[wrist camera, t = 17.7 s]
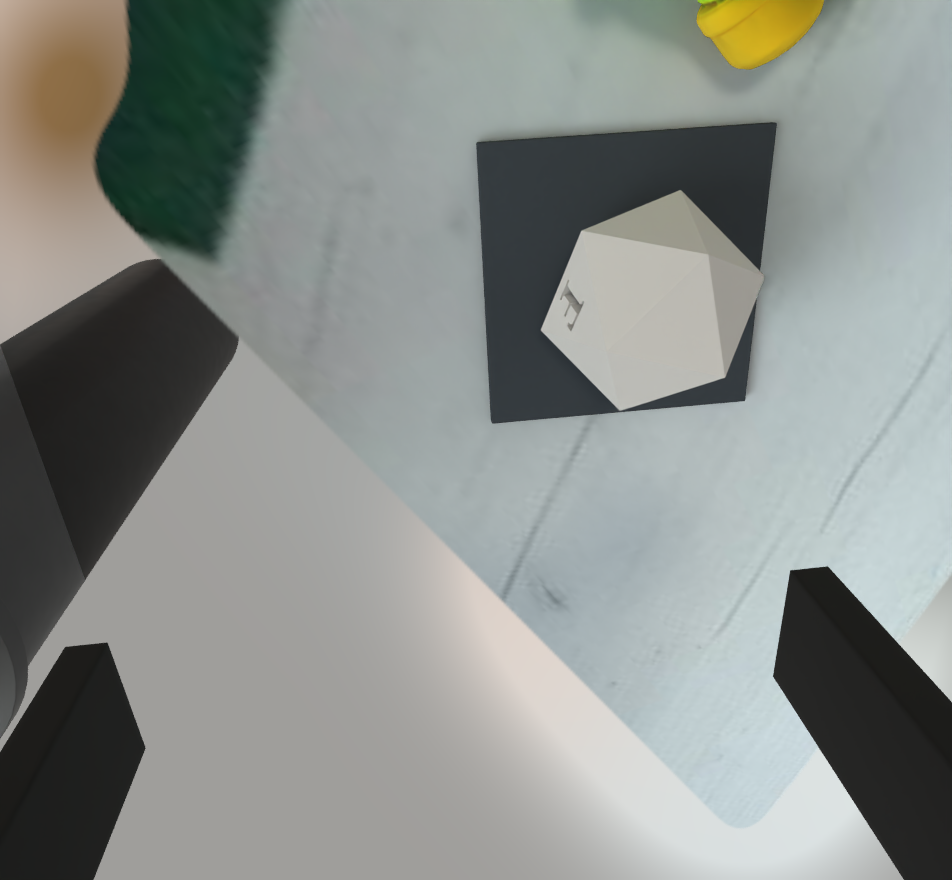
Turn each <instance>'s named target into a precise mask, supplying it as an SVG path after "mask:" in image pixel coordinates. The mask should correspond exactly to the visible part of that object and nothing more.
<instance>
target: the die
mask: <svg viewBox="0 0 952 880" xmlns="http://www.w3.org/2000/svg"><path fill="white" fill-rule="evenodd" d="M764 278H765V276H764V275H763V274H762V273H761V272H760V271H759V270H758V269H757V268H756V267H755V266H754V265H753V264H752V262H751V261H750V260H749V259H748V258H747V257H746V256H745V255H744V254H743V253H742V252H741V251H740V250H739V249H738V248H737V247H736V246H735V245H734V244H733V243H732V242H731V241H730V240H729V239H728V238H727V237H726V236H725V235H724V234H723V233H722V232H721V231H720V230H719V229H718V228H717V227H716V226H715V225H714V224H713V222H712V221H711V220H710V219H709V218H708V217H707V216H706V215H705V214H704V213H703V212H702V211H701V210H700V209H699V208H698V207H697V206H696V205H695V204H694V203H693V202H692V201H691V200H690V199H689V198H688V197H687V196H686V195H685V194H684V193H683V192H682V191H681V190H679V191H677V192H674V193H672V194H669V195H667V196H665V197H662V198H660V199H657V200H655V201H652V202H650V203H648V204H645V205H643V206H640V207H638V208H635V209H633V210H631V211H628V212H626V213H623V214H621V215H618V216H616V217H614V218H611V219H609V220H606V221H604V222H601V223H599V224H597V225H594V226H592V227H589V228H587V229H584V230H582V231H581V233H580V235H579V238H578V240H577V243H576V245H575V248H574V250H573V253H572V255H571V257H570V260H569V262H568V265H567V267H566V270H565V272H564V274H563V277H562V279H561V282H560V284H559V287H558V289H557V292H556V294H555V296H554V299H553V301H552V304H551V306H550V309H549V311H548V314H547V316H546V318H545V321H544V323H543V326H542V328H541V331H542V332H543V333H544V334H545V335H546V336H547V337H548V338H549V339H550V340H551V341H552V342H553V343H554V344H555V345H556V346H557V347H558V348H559V349H560V350H561V351H562V352H563V353H564V354H565V355H566V356H567V357H568V359H569V360H570V361H571V362H572V363H573V364H574V365H575V366H576V367H577V368H578V369H579V370H580V371H581V372H582V373H583V374H584V375H585V376H586V377H587V378H588V379H589V380H590V381H591V382H592V383H593V384H594V385H595V386H596V387H597V388H598V389H599V390H600V391H601V392H602V393H603V394H604V395H605V396H606V397H607V398H608V399H609V400H610V401H611V402H612V403H613V404H614V405H615V406H616V407H617V408H618V409H619V410H620V411H621V410H625V409H628V408H631V407H634V406H637V405H640V404H643V403H647V402H650V401H653V400H656V399H659V398H662V397H666V396H669V395H672V394H675V393H678V392H681V391H684V390H688V389H691V388H694V387H697V386H700V385H703V384H707V383H710V382H713V381H716V380H719V379H722V378H725V377H726V374H727V372H728V369H729V366H730V364H731V361H732V359H733V356H734V354H735V351H736V349H737V346H738V344H739V341H740V339H741V336H742V334H743V331H744V329H745V326H746V324H747V321H748V319H749V316H750V313H751V311H752V308H753V306H754V303H755V301H756V298H757V296H758V293H759V291H760V288H761V286H762V283H763V281H764Z"/></svg>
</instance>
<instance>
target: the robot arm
mask: <svg viewBox="0 0 952 880" xmlns="http://www.w3.org/2000/svg"><path fill="white" fill-rule="evenodd" d="M773 677H774V679H775V680H776V682H777V683H778V685H779V686H780V688H781V689H782V691H783V693H784V694H785V696H786V697H787V699H788V700H789V702H790V703H791V705H792V707H793V708H794V710H795V711H796V713H797V714H798V716H799V717H800V719H801V720H802V722H803V724H804V725H805V727H806V728H807V730H808V731H809V733H810V734H811V736H812V738H813V739H814V741H815V742H816V744H817V745H818V747H819V748H820V750H821V752H822V753H823V755H824V756H825V758H826V759H827V761H828V762H829V764H830V765H831V767H832V769H833V770H834V772H835V773H836V775H837V776H838V778H839V780H840V781H841V783H842V784H843V786H844V787H845V789H846V790H847V792H848V794H849V795H850V797H851V798H852V800H853V801H854V803H855V804H856V806H857V808H858V809H859V811H860V812H861V814H862V815H863V817H864V818H865V820H866V821H867V823H868V825H869V826H870V828H871V829H872V831H873V832H874V834H875V835H876V837H877V839H878V840H879V842H880V843H881V845H882V846H883V848H884V849H885V851H886V853H887V854H888V856H889V857H890V859H891V860H892V862H893V863H894V865H895V867H896V868H897V869H898V871H899V873H900V874H901V876H902V877H903V879H904V880H952V702H951V701H950V700H949V699H948V698H947V696H946V695H945V694H944V693H943V692H942V691H941V690H940V689H939V688H938V687H937V686H936V685H935V683H934V682H933V681H932V680H931V679H930V678H929V677H928V676H927V675H926V673H925V672H923V670H922V669H921V668H920V667H919V666H918V665H917V664H916V663H915V661H914V660H913V659H912V658H911V657H910V656H909V655H908V654H907V653H906V652H905V651H904V649H903V648H902V647H901V646H900V645H899V644H898V643H897V642H896V641H895V640H894V638H893V637H892V636H891V635H890V634H889V633H888V632H887V631H886V630H885V629H884V627H883V626H882V625H881V624H880V623H879V622H878V621H877V620H876V619H875V618H874V617H873V615H872V614H871V613H870V612H869V611H868V610H867V609H866V608H865V607H864V606H863V604H862V603H861V602H860V601H859V600H858V599H857V598H856V597H855V596H854V595H853V594H852V592H851V591H850V590H849V589H848V588H847V587H846V586H845V585H844V584H843V583H842V581H841V580H840V579H839V578H838V577H837V576H836V575H835V574H834V573H833V572H832V571H831V569H830V568H829V567H819V568H809V569H800V570H790V576H789V582H788V588H787V594H786V600H785V606H784V613H783V619H782V625H781V631H780V637H779V643H778V649H777V656H776V662H775V668H774V674H773ZM144 751H145V745H144V742H143V740H142V737H141V734H140V731H139V729H138V726H137V723H136V720H135V718H134V715H133V712H132V709H131V707H130V704H129V701H128V698H127V695H126V693H125V690H124V687H123V684H122V682H121V679H120V676H119V673H118V671H117V668H116V665H115V662H114V659H113V657H112V654H111V651H110V648H109V646H108V643H99V644H90V645H80V646H71V647H65V648H64V650H63V651H62V653H61V655H60V656H59V658H58V660H57V661H56V663H55V664H54V666H53V668H52V669H51V671H50V672H49V674H48V676H47V677H46V679H45V680H44V682H43V684H42V685H41V687H40V689H39V690H38V692H37V694H36V695H35V697H34V698H33V700H32V702H31V703H30V705H29V706H28V708H27V710H26V711H25V713H24V715H23V716H22V718H21V719H20V721H19V723H18V724H17V726H16V728H15V729H14V731H13V733H12V734H11V736H10V737H9V739H8V740H7V742H6V744H5V745H4V747H3V749H2V750H1V752H0V880H93V879H94V877H95V874H96V872H97V869H98V867H99V864H100V862H101V859H102V857H103V854H104V852H105V849H106V847H107V844H108V842H109V839H110V837H111V834H112V831H113V829H114V826H115V824H116V821H117V819H118V816H119V814H120V811H121V809H122V806H123V804H124V801H125V799H126V796H127V793H128V791H129V789H130V786H131V784H132V781H133V778H134V776H135V773H136V771H137V769H138V766H139V763H140V761H141V758H142V756H143V753H144Z"/></svg>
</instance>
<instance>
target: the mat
mask: <svg viewBox="0 0 952 880" xmlns="http://www.w3.org/2000/svg"><path fill="white" fill-rule="evenodd" d="M776 126H777V123H773V122H771V123H756V124H741V125H727V126H712V127H697V128H682V129H667V130H652V131H637V132H622V133H608V134H593V135H578V136H563V137H548V138H533V139H518V140H503V141H489V142H477V144H476V145H477V164H478V183H479V202H480V221H481V240H482V259H483V278H484V297H485V316H486V335H487V354H488V373H489V392H490V411H491V422H492V423H503V422H514V421H526V420H537V419H548V418H559V417H570V416H582V415H593V414H604V413H615V412H626V411H637V410H649V409H660V408H671V407H682V406H693V405H705V404H716V403H727V402H738V401H745V396H746V387H747V379H748V370H749V361H750V352H751V344H752V335H753V326H754V318H755V309H756V301H755V303H754V306H753V308H752V311H751V313H750V316H749V319H748V321H747V324H746V326H745V329H744V331H743V334H742V336H741V339H740V341H739V344H738V346H737V349H736V351H735V354H734V356H733V359H732V361H731V364H730V366H729V369H728V372H727V374H726V377H725V378H722V379H719V380H716V381H713V382H710V383H707V384H703V385H700V386H697V387H694V388H691V389H688V390H684V391H681V392H678V393H675V394H672V395H669V396H666V397H662V398H659V399H656V400H653V401H650V402H647V403H643V404H640V405H637V406H634V407H631V408H628V409H625V410H621V411H620V410H619V409H618V408H617V407H616V406H615V405H614V404H613V403H612V402H611V401H610V400H609V399H608V398H607V397H606V396H605V395H604V394H603V393H602V392H601V391H600V390H599V389H598V388H597V387H596V386H595V385H594V384H593V383H592V382H591V381H590V380H589V379H588V378H587V377H586V376H585V375H584V374H583V373H582V372H581V371H580V370H579V369H578V368H577V367H576V366H575V365H574V364H573V363H572V362H571V361H570V360H569V359H568V357H567V356H566V355H565V354H564V353H563V352H562V351H561V350H560V349H559V348H558V347H557V346H556V345H555V344H554V343H553V342H552V341H551V340H550V339H549V338H548V337H547V336H546V335H545V334H544V333H543V332H542V331H541V328H542V326H543V323H544V321H545V318H546V316H547V314H548V311H549V309H550V306H551V304H552V301H553V299H554V296H555V294H556V292H557V289H558V287H559V284H560V282H561V279H562V277H563V274H564V272H565V270H566V267H567V265H568V262H569V260H570V257H571V255H572V253H573V250H574V248H575V245H576V243H577V240H578V238H579V235H580V233H581V231H582V230H584V229H587V228H589V227H592V226H594V225H597V224H599V223H601V222H604V221H606V220H609V219H611V218H614V217H616V216H618V215H621V214H623V213H626V212H628V211H631V210H633V209H635V208H638V207H640V206H643V205H645V204H648V203H650V202H652V201H655V200H657V199H660V198H662V197H665V196H667V195H669V194H672V193H674V192H677V191H679V190H681V191H682V192H683V193H684V194H685V195H686V196H687V197H688V198H689V199H690V200H691V201H692V202H693V203H694V204H695V205H696V206H697V207H698V208H699V209H700V210H701V211H702V212H703V213H704V214H705V215H706V216H707V217H708V218H709V219H710V220H711V221H712V222H713V224H714V225H715V226H716V227H717V228H718V229H719V230H720V231H721V232H722V233H723V234H724V235H725V236H726V237H727V238H728V239H729V240H730V241H731V242H732V243H733V244H734V245H735V246H736V247H737V248H738V249H739V250H740V251H741V252H742V253H743V254H744V255H745V256H746V257H747V258H748V259H749V260H750V261H751V262H752V264H753V265H754V266H755V267H756V268H757V269H758V270H759V271H760V265H761V257H762V248H763V239H764V231H765V222H766V213H767V205H768V196H769V187H770V178H771V170H772V161H773V152H774V144H775V135H776ZM756 300H757V298H756Z"/></svg>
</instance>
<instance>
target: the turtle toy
mask: <svg viewBox="0 0 952 880" xmlns="http://www.w3.org/2000/svg"><path fill="white" fill-rule="evenodd" d="M697 1H698V2H699V3H701V4H702V5H701V6H700V9H699V11H698V14H697V24H698V26H699V27H700V29H701V31H702V33H703V34H704V35H705V36H706V37H710V38H711V40H712V41H713V42H714V44H715V45H716V46H717V48H718V49H719V51H720V52H721V54H722V55H723V56H724V58H725V59H726V60H727V61H728V62H729V64H730V65H732V66H733V67H735V68H738V69H746V70H748V69H754V68H756V67H759V66H761V65H763V64H766V63H767V62H769V61H771V60H773V59H775V58H777V57H779V56H780V55H781V54H783V53H784V52H785V51H788V50H789V49H790V48H791V47H793V46H794V45H795V44H796V43H797V42H798V41H799V40H800V39H801V38H802V37H803V36H804V35H805V34H806V33H807V32H808V30H809V29H810V28H811V27H812V25H813V24H814V22H815V20H816V19H817V17H818V16H819V14H820V12H821V10H822V7H823V3H824V0H697Z"/></svg>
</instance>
